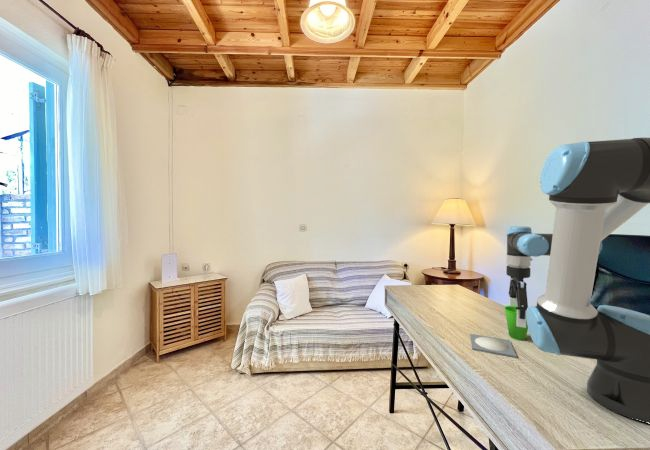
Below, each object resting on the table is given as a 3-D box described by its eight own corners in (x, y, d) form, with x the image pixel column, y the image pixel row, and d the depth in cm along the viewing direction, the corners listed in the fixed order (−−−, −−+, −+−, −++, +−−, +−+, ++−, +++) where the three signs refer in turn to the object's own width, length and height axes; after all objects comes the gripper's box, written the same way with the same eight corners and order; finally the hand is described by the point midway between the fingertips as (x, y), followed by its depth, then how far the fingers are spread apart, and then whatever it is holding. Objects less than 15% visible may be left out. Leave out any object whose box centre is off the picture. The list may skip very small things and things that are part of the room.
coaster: (516, 357, 88) (516, 355, 88) (472, 349, 94) (472, 347, 94) (509, 341, 100) (509, 339, 100) (469, 335, 105) (469, 333, 105)
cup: (537, 343, 98) (537, 314, 98) (509, 341, 100) (510, 312, 99) (524, 333, 107) (524, 306, 106) (499, 331, 109) (499, 305, 108)
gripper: (540, 273, 90) (538, 335, 91) (522, 261, 112) (521, 310, 113) (513, 271, 93) (512, 331, 94) (501, 260, 115) (500, 308, 116)
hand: (517, 320), depth 103 cm, fingers open, 13 cm apart
